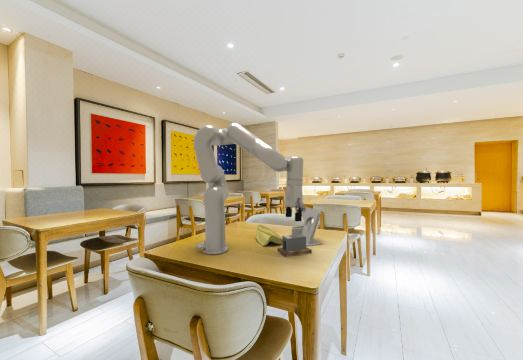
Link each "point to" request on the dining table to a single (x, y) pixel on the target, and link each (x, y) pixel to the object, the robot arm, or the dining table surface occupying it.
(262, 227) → the yellow-green folded towel
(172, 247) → the dining table surface
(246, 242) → the dining table surface
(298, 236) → the block
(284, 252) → the brown peg board
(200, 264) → the dining table surface
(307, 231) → the phone holder
